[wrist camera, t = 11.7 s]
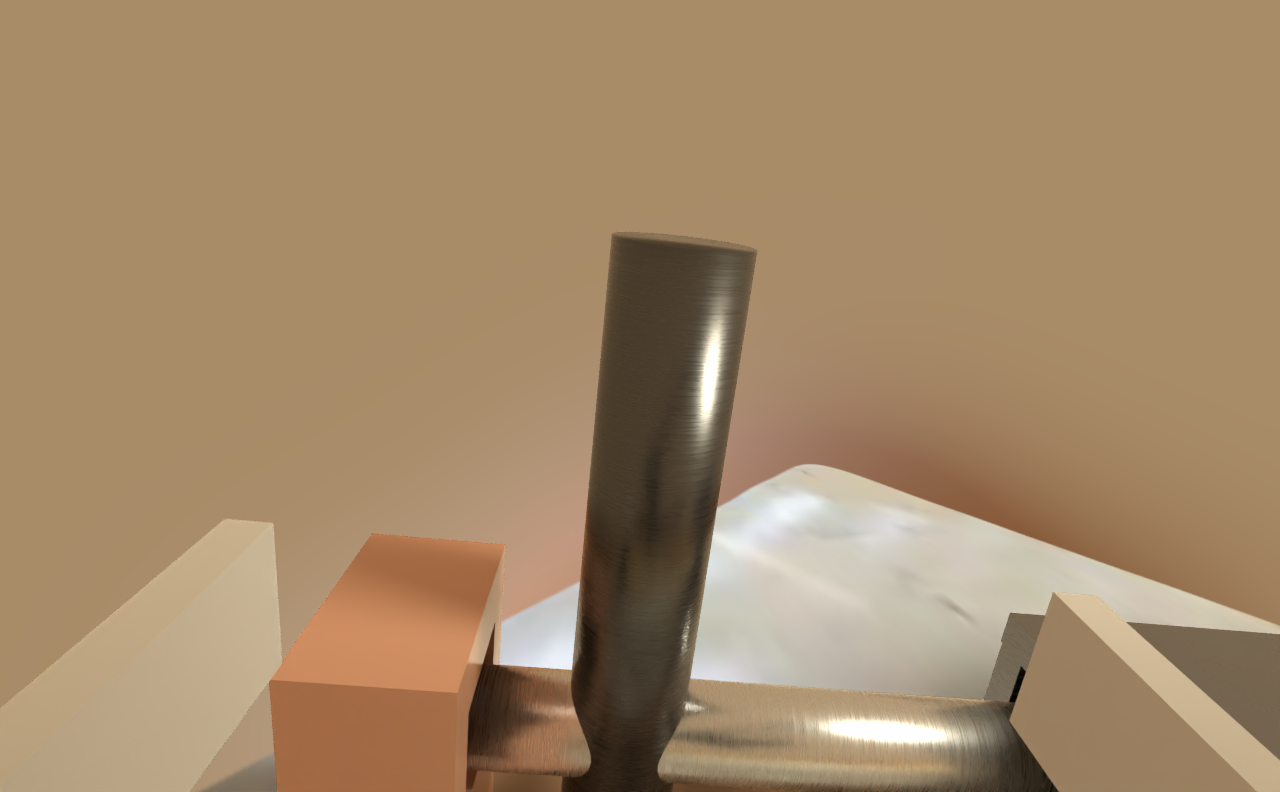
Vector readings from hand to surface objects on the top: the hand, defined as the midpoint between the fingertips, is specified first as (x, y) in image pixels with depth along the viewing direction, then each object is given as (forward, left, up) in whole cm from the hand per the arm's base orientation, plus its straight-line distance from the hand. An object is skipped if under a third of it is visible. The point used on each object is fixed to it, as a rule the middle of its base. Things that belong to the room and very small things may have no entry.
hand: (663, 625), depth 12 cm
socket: (+6, -7, -16) cm, 19 cm away
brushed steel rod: (-5, -7, -14) cm, 17 cm away
